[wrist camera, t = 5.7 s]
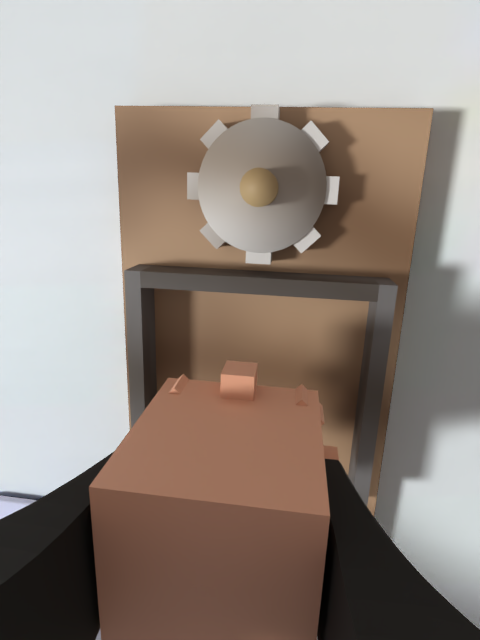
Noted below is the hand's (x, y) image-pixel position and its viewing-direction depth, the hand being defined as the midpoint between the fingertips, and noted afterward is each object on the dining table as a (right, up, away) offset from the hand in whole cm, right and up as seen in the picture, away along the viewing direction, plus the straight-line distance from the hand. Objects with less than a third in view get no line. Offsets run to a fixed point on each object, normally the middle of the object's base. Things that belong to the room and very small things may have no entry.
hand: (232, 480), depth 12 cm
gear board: (+1, +2, +7) cm, 7 cm away
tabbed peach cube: (0, 0, +1) cm, 1 cm away
